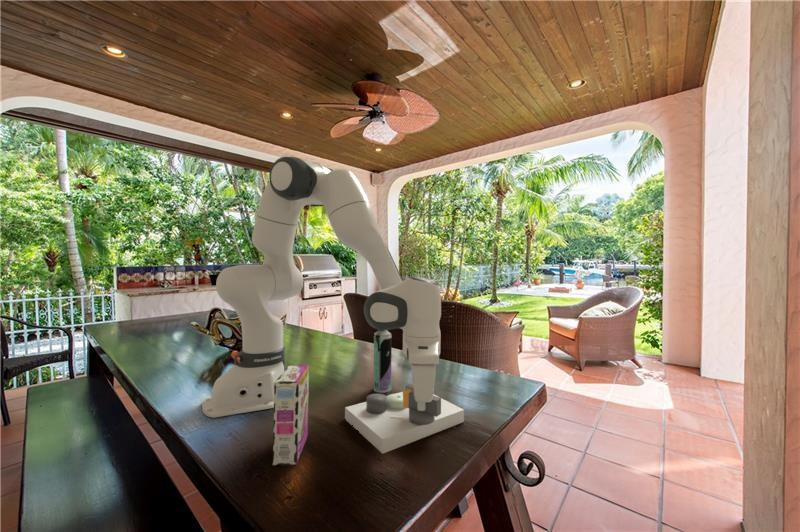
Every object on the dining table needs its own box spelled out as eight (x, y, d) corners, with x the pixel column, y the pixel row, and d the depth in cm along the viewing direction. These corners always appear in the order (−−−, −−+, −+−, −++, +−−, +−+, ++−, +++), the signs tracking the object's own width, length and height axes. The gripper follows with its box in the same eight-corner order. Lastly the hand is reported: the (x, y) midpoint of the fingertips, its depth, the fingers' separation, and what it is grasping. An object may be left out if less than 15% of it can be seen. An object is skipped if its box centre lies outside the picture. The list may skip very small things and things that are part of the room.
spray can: (388, 393, 98) (389, 327, 98) (371, 392, 99) (371, 327, 99) (392, 386, 103) (393, 324, 103) (376, 385, 104) (376, 323, 104)
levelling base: (382, 453, 67) (382, 425, 67) (345, 419, 82) (345, 395, 82) (464, 421, 81) (464, 397, 81) (419, 397, 96) (419, 376, 96)
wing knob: (444, 418, 76) (445, 394, 76) (432, 429, 71) (432, 403, 71) (411, 408, 81) (412, 386, 81) (398, 418, 76) (398, 394, 76)
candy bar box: (298, 465, 63) (298, 382, 63) (272, 467, 63) (272, 382, 62) (309, 435, 74) (309, 364, 74) (287, 436, 74) (287, 364, 74)
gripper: (407, 335, 86) (406, 387, 86) (408, 358, 66) (407, 426, 66) (431, 335, 86) (430, 387, 86) (440, 359, 65) (438, 426, 66)
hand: (420, 404), depth 76 cm, fingers closed on wing knob, 4 cm apart
